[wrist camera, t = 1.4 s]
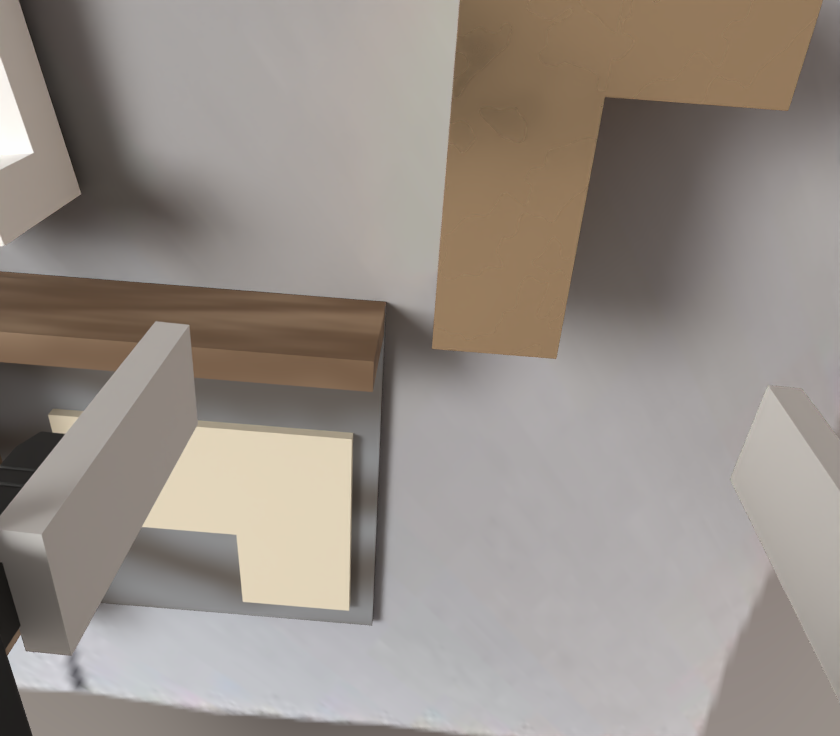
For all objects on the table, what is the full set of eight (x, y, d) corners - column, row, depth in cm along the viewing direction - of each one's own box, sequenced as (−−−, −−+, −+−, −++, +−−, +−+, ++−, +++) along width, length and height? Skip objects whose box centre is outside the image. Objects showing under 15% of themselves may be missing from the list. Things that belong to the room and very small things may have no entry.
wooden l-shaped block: (464, -58, 28) (464, -56, 22) (743, -38, 28) (831, -29, 22) (437, 269, 36) (431, 348, 29) (659, 286, 36) (706, 370, 29)
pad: (53, 408, 41) (48, 414, 40) (353, 433, 40) (351, 439, 40) (95, 582, 48) (91, 589, 47) (350, 603, 48) (349, 610, 47)
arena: (-79, 265, 37) (-166, 318, 32) (386, 302, 37) (373, 361, 32) (25, 589, 49) (-26, 664, 44) (373, 618, 49) (362, 697, 44)
